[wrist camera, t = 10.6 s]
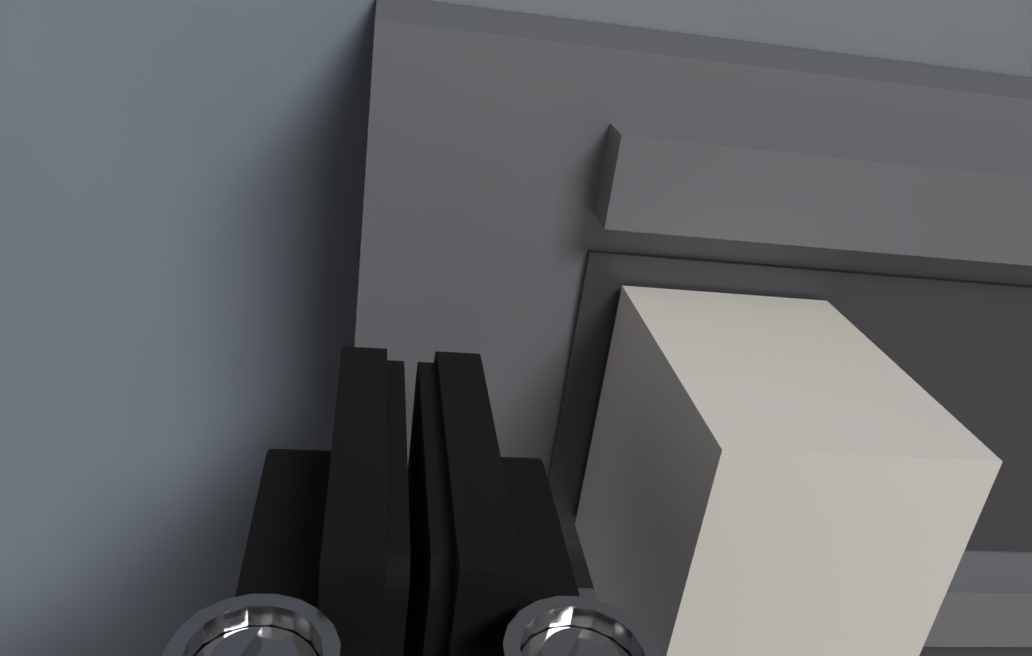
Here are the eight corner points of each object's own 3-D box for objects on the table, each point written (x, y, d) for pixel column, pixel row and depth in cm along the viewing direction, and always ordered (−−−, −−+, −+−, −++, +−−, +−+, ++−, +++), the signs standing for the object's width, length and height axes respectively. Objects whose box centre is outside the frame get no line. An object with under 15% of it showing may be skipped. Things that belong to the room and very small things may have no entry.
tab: (757, 529, 14) (882, 741, 11) (574, 524, 14) (641, 746, 10) (826, 300, 13) (1003, 460, 9) (621, 285, 12) (722, 450, 8)
